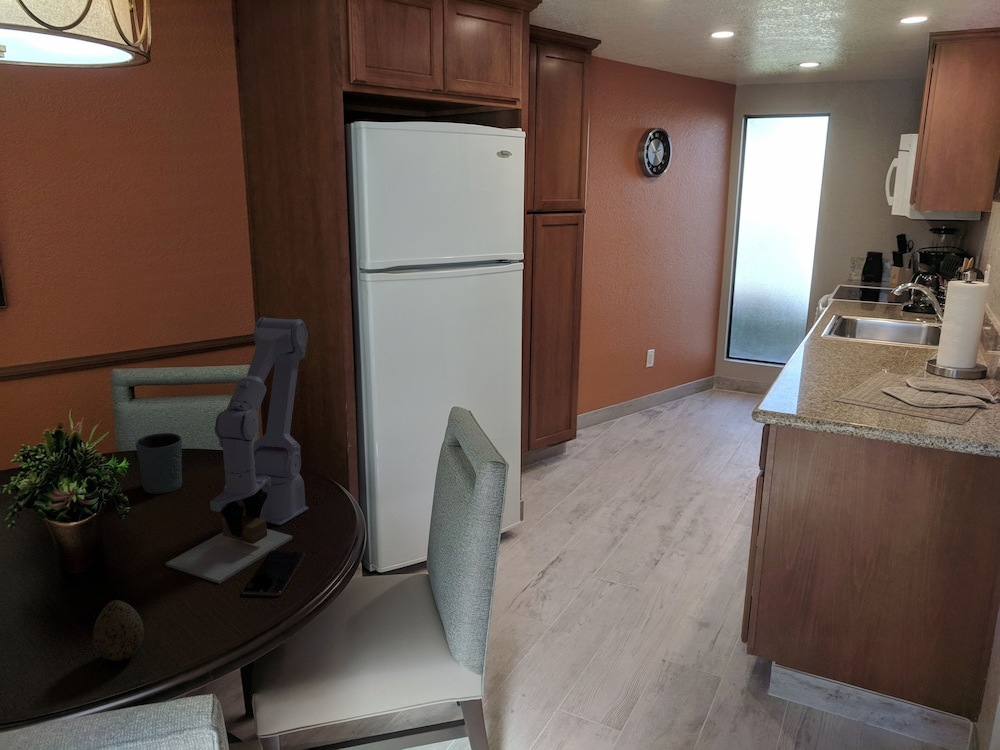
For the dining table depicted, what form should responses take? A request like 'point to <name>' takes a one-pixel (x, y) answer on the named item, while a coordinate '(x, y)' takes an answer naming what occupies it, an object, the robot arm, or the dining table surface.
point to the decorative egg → (118, 631)
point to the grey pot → (160, 462)
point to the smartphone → (273, 573)
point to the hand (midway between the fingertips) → (244, 530)
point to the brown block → (248, 529)
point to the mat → (225, 555)
